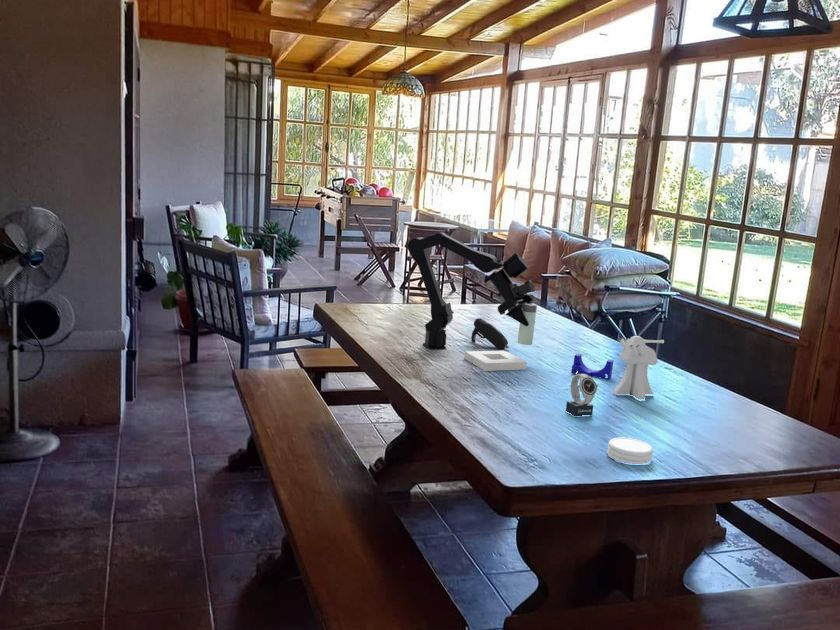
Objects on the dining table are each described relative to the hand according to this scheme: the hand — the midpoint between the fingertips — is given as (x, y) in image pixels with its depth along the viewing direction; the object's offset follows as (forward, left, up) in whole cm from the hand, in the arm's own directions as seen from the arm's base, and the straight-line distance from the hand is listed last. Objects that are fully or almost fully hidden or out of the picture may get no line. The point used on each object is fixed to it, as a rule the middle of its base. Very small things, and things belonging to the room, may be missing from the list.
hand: (531, 324), depth 256 cm
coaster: (-21, -81, -14) cm, 85 cm away
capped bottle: (-1, +1, -7) cm, 7 cm away
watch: (-14, -51, -13) cm, 55 cm away
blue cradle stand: (+14, -16, -14) cm, 26 cm away
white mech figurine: (+15, -38, -13) cm, 43 cm away
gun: (-1, +24, -14) cm, 28 cm away
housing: (-12, 0, -13) cm, 18 cm away
